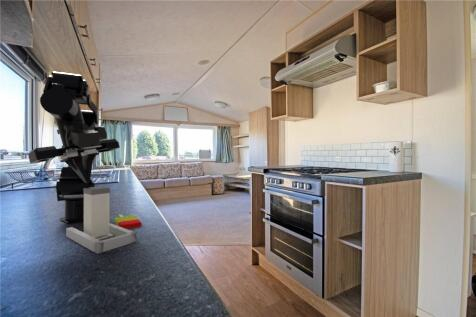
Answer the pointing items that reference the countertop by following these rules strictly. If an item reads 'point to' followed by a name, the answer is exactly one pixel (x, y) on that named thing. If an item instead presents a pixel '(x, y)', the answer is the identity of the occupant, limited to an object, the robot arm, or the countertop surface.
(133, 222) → the popsicle
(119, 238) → the frame
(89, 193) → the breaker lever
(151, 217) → the countertop surface
